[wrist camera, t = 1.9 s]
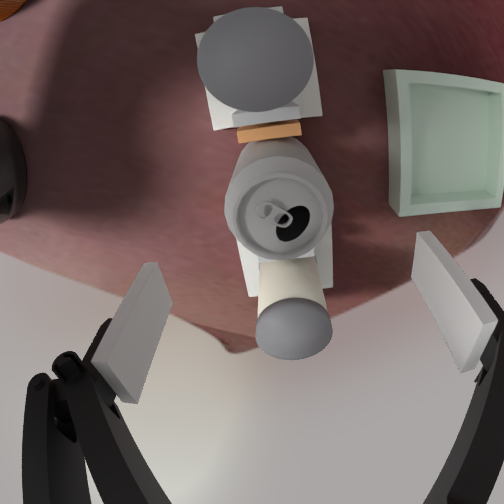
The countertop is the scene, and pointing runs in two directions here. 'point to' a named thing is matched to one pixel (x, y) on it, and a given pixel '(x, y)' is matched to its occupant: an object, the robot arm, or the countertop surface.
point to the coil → (9, 7)
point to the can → (278, 199)
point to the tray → (444, 142)
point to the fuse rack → (268, 127)
